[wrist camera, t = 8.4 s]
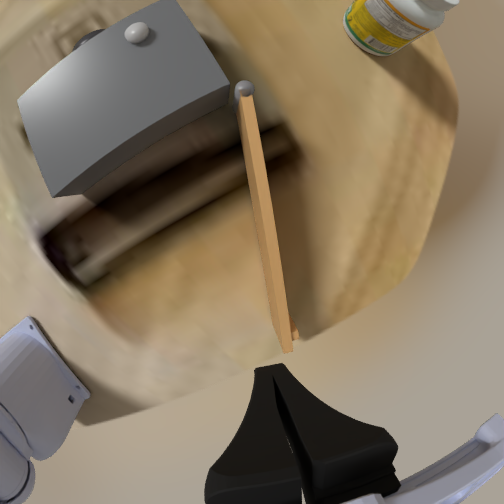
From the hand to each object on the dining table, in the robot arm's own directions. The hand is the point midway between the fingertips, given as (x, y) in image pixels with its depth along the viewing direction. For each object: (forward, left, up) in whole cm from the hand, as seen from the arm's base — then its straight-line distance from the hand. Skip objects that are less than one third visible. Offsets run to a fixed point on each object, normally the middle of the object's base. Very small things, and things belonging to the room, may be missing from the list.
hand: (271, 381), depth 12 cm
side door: (+6, -4, -8) cm, 10 cm away
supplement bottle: (+15, -19, -9) cm, 26 cm away
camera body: (+17, +1, -8) cm, 19 cm away
